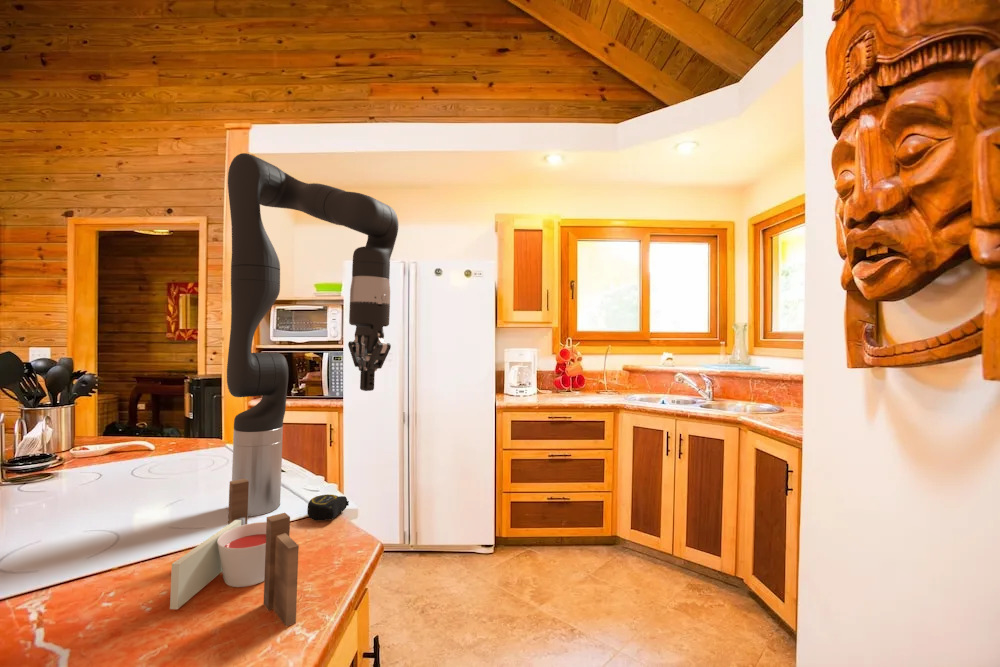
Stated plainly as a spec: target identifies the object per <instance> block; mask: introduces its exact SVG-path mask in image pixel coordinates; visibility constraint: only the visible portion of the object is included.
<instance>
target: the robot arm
mask: <svg viewBox="0 0 1000 667" xmlns="http://www.w3.org/2000/svg"><path fill="white" fill-rule="evenodd" d="M227 173H228V174H227V190H228V202H229V211H230V221H231V222H230V223H231V262H230V295H231V296H230V298H231V299H230V302H231V303H230V304H231V308H230V309H231V310H230V311H231V314H230V331H229V332H230V335H229V342H228V343H229V344H228V351H227V352H228V354H227V362H226V363H227V366H226V384H227V389H228V392H229V393H230V395H231V396H233V397H234V398H247V397H248V398H249V397H251V398H252V397H261V398H260V399H261V400H260V401H259V402H258V403H257V404H255V405H253V406H252V407H251V408H248V409H247V410H244V411H242V412H240V413H238V414H236V416H235V417H234V420H233V435H232V436H233V438H232V440H233V441H232V443H233V444H232V467H231V471H232V472H231V481H235V480H240V479H247V480H248V481H249V489H248V515H247V517H253V516H260V515H264V514H268V513H270V512H273V511H276V510H277V509H278V508H280V505H281V493H282V492H281V490H282V488H281V487H282V465H283V464H282V463H283V462H282V461H283V435H284V434H283V432H284V431H283V430H284V417H285V415H286V410H287V409H286V407H287V395H288V386H289V385H288V384H289V366H288V365H289V364H288V361H287V358H286V357H285V356H284V354H282V353H279V352H252V347H253V346H252V345H253V340H254V336H255V332H256V331H257V329H258V326H259V325H260V323H261V322H262V320H263V319H264V318H265V316H266V315H267V314H268V312H269V311H270V310H271V308H272V306H273V305H274V304H275V303H276V301H277V299H278V297H279V295H280V291H281V264H280V260H279V257H278V254H277V251H276V250H275V247H274V245H273V244H272V241H271V239H270V238H269V236H268V234H267V232H266V229H265V227H264V223H263V220H262V216H261V206H264V207H269V208H276V209H277V208H278V209H279V208H280V209H288V210H289V209H290V210H295V211H299V212H303V213H305V214H307V215H309V216H312V217H313V218H315V219H319V220H322V221H325V222H328V223H330V224H334V225H338V226H344V227H345V228H348V229H350V230H353V231H356V232H357V233H361V234H363V235H366V236H367V241H366V244H365V246H360V247H357V248H355V250H354V251H353V255H352V268H351V270H352V271H351V283H350V289H349V312H348V313H349V317H348V321H349V322H348V323H349V325H351V326H355V332H354V339H353V341H348V344H347V345H348V348H349V352H350V356H351V358H352V361H353V364H354V367H355V368H358V371H360V375H359V376H360V380H359V383H360V384H359V390H361V391H364V392H369V391H370V392H371V391H374V389H375V372H376V371H378V369H382V368H383V366H384V363H385V361H386V359H387V356H388V354H389V352H390V350H391V343H389V342H386V341H385V340H384V338H385V332H384V327H388V326H389V325H390V310H391V286H390V274H391V272H390V271H391V270H390V269H391V268H390V267H391V257H392V254H393V251H394V249H395V248H394V247H395V244H396V241H397V237H398V232H399V218H398V214H397V213H396V211H395V209H394V208H393V207H391V206H390V205H388V204H386V203H384V202H382V201H380V200H378V199H376V198H374V197H372V196H370V195H367V194H364V193H361V192H355V191H346V190H345V189H341V188H337V187H333V186H331V185H327V184H322V183H315V182H313V183H307V182H304V181H300V180H299V179H297V178H295V177H293V176H292V175H290V174H288V173H287V172H285V171H284V170H282V169H281V168H279V167H277V166H276V165H274V164H272V163H271V162H268V161H266V160H264V159H262V158H260V157H257V156H255V155H253V154H250V153H247V152H246V153H244V152H243V153H239V154H237V155H236V156H234V158H233V159H232V161H231V162H230V164H229V168H228V171H227Z"/></svg>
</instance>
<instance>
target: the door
mask: <svg viewBox="0 0 1000 667" xmlns="http://www.w3.org/2000/svg"><path fill="white" fill-rule="evenodd" d="M242 525H245V518H239V519H237V520H234V521H233V522H232V523H230V524H229V525H228V524H227V525H226V526H225V527H223V528H221V529H220V530H219V531H217V532H216V533H214V534H212V535H211V536H210V537H208V538H207V539H206V540H204V541H203V542H201V543H200V544H198V545H197V546H195V547H194V548H192V549H191V550H190V551H188V552H187V553H186V554H184V555H182V556H180V557H179V558H178V559H177V560H175V561H174V562H173V563H171V573H170V574H171V575H170V598H169V600H170V601H169V603H170V604H169V610H179V609H180V608H181V607H183V605H185V603H187V602H188V601H190V600H191V599H192V598H193V597H194V596H196V594H198V592H200V591H201V590H202V589H203V588H204V587H205V586H207V585H208V584H209V583H210V582H211V581H213V580H214V579H215V578H216V577H217V576H218V575H220V574H221V573H222V567H221V562H220V556H219V550H218V544H217V540H218V538H219V537H220V536H221V535H222V534H223V533H225V532H226V531H228V530H230V529H233V528H235V527H238V526H242Z"/></svg>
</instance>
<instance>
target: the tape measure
mask: <svg viewBox="0 0 1000 667" xmlns="http://www.w3.org/2000/svg"><path fill="white" fill-rule="evenodd" d="M349 503H350V500H348V498H347V497H346V496H343V495H341V496H340V495H339V496H338V495H336V494H322V495H320V494H319V495H316V496H315V497H312V498H311V499H310V500H309V502H308V504H307V509H306V510H307V511H306V512H307V513H306V514H307V516H308V518H309V519H310V520H313V521H317V522H319V521H331V520H334V519H335V518H336V517H337V516H339V515H340V514H341V513H342V512H343V511H345V509H347V506H349Z"/></svg>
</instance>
